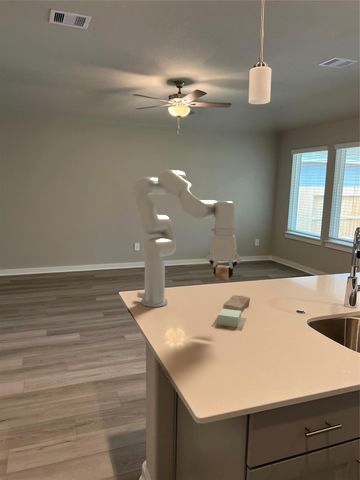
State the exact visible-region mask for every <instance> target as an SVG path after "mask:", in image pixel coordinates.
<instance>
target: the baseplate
mask: <svg viewBox="0 0 360 480" xmlns="http://www.w3.org/2000/svg"><path fill="white" fill-rule="evenodd" d="M246 321H247V318H246V317H241V321H240V323H239V326H238V327H233V326H226V325H219V324H218V316H217V317H216V318H215V320H214V321H213V323H212V325H211V327H214V328H220V329H227V330H235V331H241V332H242V331H243V328H244V326H245V323H246Z"/></svg>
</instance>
